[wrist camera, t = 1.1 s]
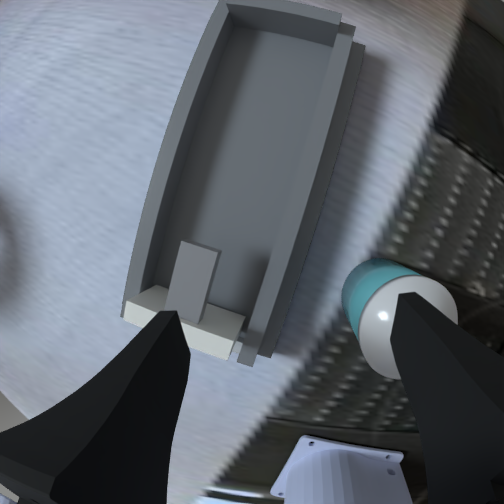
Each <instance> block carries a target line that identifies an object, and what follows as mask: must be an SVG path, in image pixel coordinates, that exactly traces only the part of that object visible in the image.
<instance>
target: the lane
mask: <svg viewBox="0 0 504 504" xmlns="http://www.w3.org/2000/svg"><path fill="white" fill-rule="evenodd" d="M341 17H342V14H341V13H338V12H334V11H331V10H327V9H323V8H319V7H315V6H310V5H306V4H301V3H296V2H291V1H286V0H219V2H218V4H217V6H216V8H215V10H214V12H213V13H212V15H211V17H210V20H209V22H208V24H207V26H206V28H205V31H204V33H203V35H202V38H201V40H200V42H199V45H198V47H197V49H196V52H195V54H194V57H193V59H192V61H191V64H190V66H189V69H188V71H187V74H186V77H185V79H184V82H183V84H182V87H181V90H180V92H179V95H178V98H177V101H176V103H175V106H174V109H173V112H172V115H171V118H170V121H169V123H168V126H167V129H166V132H165V135H164V139H163V142H162V145H161V148H160V151H159V154H158V158H157V161H156V164H155V168H154V171H153V174H152V178H151V181H150V185H149V188H148V192H147V196H146V199H145V203H144V207H143V211H142V215H141V219H140V223H139V227H138V231H137V235H136V239H135V243H134V248H133V252H132V257H131V261H130V266H129V271H128V276H127V281H126V286H125V291H124V297H123V302H122V304H123V305H122V310H121V316H120V317H122V318H123V317H124V312H125V306H126V301H127V300H128V299H130V298H132V297H134V296H136V295H138V294H140V293H142V292H144V291H145V290H147V289H149V288H151V287H153V286H155V285H159V286H161V287H164V288H167V289H169V287H170V283H171V279H172V275H173V271H174V267H175V263H176V259H177V255H178V251H179V247H180V244H181V241H182V240H186V239H188V240H191V241H195V242H198V243H201V244H204V245H207V246H210V247H213V248H216V249H219V250H222V253H221V256H220V260H219V263H218V267H217V270H216V273H215V277H214V281H213V284H212V288H211V291H210V295H209V298H208V302H207V303H208V304H211V305H214V306H217V307H220V308H222V309H225V310H228V311H231V312H234V313H237V314H240V315H243V316H246V317H245V320H244V323H243V327H242V330H241V333H240V335H239V337H238V339H237V341H236V344H235V346H234V348H233V350H232V352H235V353H238V354H239V356H238V359H237V362H238V363H241V364H244V365H247V366H250V367H253V364H254V361H255V358H256V356H257V354H258V355H261V356H264V357H268V358H271V356H272V353H273V351H274V348H275V345H276V343H277V340H278V337H279V334H280V332H281V329H282V326H283V323H284V320H285V318H286V315H287V312H288V309H289V306H290V303H291V301H292V298H293V295H294V292H295V289H296V286H297V283H298V280H299V277H300V274H301V271H302V268H303V265H304V262H305V259H306V256H307V253H308V250H309V247H310V244H311V241H312V237H313V234H314V231H315V228H316V225H317V222H318V218H319V215H320V212H321V209H322V206H323V202H324V199H325V196H326V192H327V189H328V186H329V182H330V179H331V175H332V172H333V169H334V165H335V162H336V158H337V155H338V151H339V148H340V144H341V140H342V137H343V133H344V129H345V126H346V122H347V118H348V115H349V111H350V107H351V103H352V99H353V95H354V91H355V87H356V84H357V79H358V75H359V71H360V67H361V63H362V59H363V55H364V50H365V45H362V44H359V43H356V42H353V41H352V40H353V36H354V32H355V28H356V26H352V25H349V24H346V23H342V22H340V21H341Z"/></svg>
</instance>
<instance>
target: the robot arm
mask: <svg viewBox="0 0 504 504" xmlns="http://www.w3.org/2000/svg"><path fill="white" fill-rule="evenodd" d="M390 343H391V347H392V352H393V356H394V359H395V363H396V367H397V369H398V372H399V375H400V377H401V380H402V383H403V385H404V388H405V391H406V393H407V396H408V399H409V401H410V404H411V407H412V410H413V412H414V415H415V418H416V422H417V425H418V429H419V434H420V438H421V444H422V449H423V455H424V461H425V468H426V477H427V488H428V504H504V357H503V356H501V355H499V354H498V353H496V352H494V351H493V350H491V349H490V348H488V347H487V346H485V345H484V344H482V343H481V342H480V341H478V340H477V339H475V338H474V337H473V336H471V335H470V334H469V333H467V332H466V331H465V330H463V329H462V328H461V327H459V326H458V325H457V324H456V323H454V322H453V321H452V320H451V319H449V318H448V317H447V316H446V315H444V314H443V313H442V312H441V311H439V310H438V309H437V308H436V307H435V306H433V305H432V304H431V303H430V302H428V301H427V300H426V299H424V298H423V297H422V296H421V295H419V294H418V293H416V292H408V293H399V294H398V300H397V305H396V311H395V316H394V321H393V326H392V331H391V336H390ZM190 357H191V353H190V350H189V347H188V344H187V341H186V338H185V335H184V332H183V328H182V325H181V322H180V319H179V315H178V312H177V310H171V311H159V312H158V313H157V314H156V315H155V316H154V317H153V318H152V319H151V320H150V321H149V322H148V323H147V325H146V326H145V327H144V328H143V329H142V330H141V331H140V332H139V333H138V334H137V335H136V336H135V337H134V338H133V339H132V340H131V342H130V343H129V344H128V345H127V346H126V347H125V348H124V349H123V350H122V351H121V352H120V353H119V354H118V355H117V356H116V357H115V358H114V359H113V360H111V361H110V362H109V363H108V364H107V365H106V366H105V367H104V368H103V369H102V370H101V371H100V372H99V373H98V374H97V375H95V376H94V377H93V378H92V379H91V380H89V381H88V382H87V383H86V384H84V385H83V386H82V387H81V388H79V389H78V390H77V391H75V392H74V393H73V394H71V395H70V396H68V397H67V398H65V399H64V400H62V401H61V402H59V403H58V404H56V405H55V406H53V407H52V408H50V409H48V410H47V411H45V412H43V413H41V414H40V415H38V416H36V417H34V418H32V419H30V420H28V421H26V422H24V423H22V424H20V425H17V426H15V427H13V428H10V429H8V430H6V431H3V432H1V433H0V483H1V484H2V485H3V486H5V487H6V488H7V489H9V490H10V491H11V492H13V493H14V494H16V495H17V496H19V500H18V503H16V502H14V501H13V500H11V499H9V498H8V497H6V496H4V495H2V494H1V493H0V504H166V503H167V484H168V472H169V463H170V454H171V446H172V441H173V436H174V432H175V428H176V424H177V420H178V416H179V412H180V408H181V404H182V401H183V397H184V393H185V389H186V385H187V381H188V374H189V366H190ZM309 442H314V443H309ZM388 455H389V456H388ZM403 457H404V455H403V453H402V452H398V451H390V450H383V449H376V448H370V447H363V446H357V445H352V444H346V443H341V442H336V441H331V440H326V439H322V438H317V437H313V436H308V435H305V436H302V437H301V438H300V439H299V441H298V443H297V445H296V447H295V448H294V450H293V452H292V454H291V456H290V458H289V459H288V461H287V463H286V465H285V466H284V468H283V470H282V472H281V473H280V475H279V477H278V478H277V480H276V482H275V483H274V485H273V487H272V488H271V492H270V493H271V494H272V495H274V496H278V497H283V498H285V501H284V504H413V502H412V499H411V496H410V493H409V490H408V487H407V484H406V481H405V478H404V476H403V473H402V470H401V467H400V464H399V463H400V462H401V460H402V459H403Z"/></svg>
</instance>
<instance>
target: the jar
mask: <svg viewBox="0 0 504 504" xmlns="http://www.w3.org/2000/svg"><path fill="white" fill-rule="evenodd" d="M408 292H416V293H418V294H419V295H421V296H422V297H423V298H424V299H426V300H427V301H428V302H430V303H431V304H432V305H433V306H435V307H436V308H437V309H438V310H439V311H441V312H442V313H443V314H444V315H446V316H447V317H448V318H449V319H451V320H452V321H453V322H454V323H456V324H457V325H458V314H457V308H456V304H455V302H454V299H453V298H452V296H451V294H450V293H449V292H448V290H447V289H446V288H445V287H444V286H442V285H441V284H439V283H438V282H436V281H434V280H432V279H430V278H428V277H425V276H422V275H420V274H418V273H416V272H414V271H412V270H410V269H408V268H406V267H404V266H402V265H400V264H398V263H396V262H394V261H392V260H389V259H384V258H375V259H370V260H367V261H365V262H363V263H361V264H359V265H358V266H357V267H355V268H354V269H353V270H352V271H351V273H350V274H349V275H348V277H347V279H346V280H345V283H344V285H343V289H342V295H341V300H342V307H343V310H344V312H345V315H346V317H347V319H348V321H349V323H350V325H351V327H352V329H353V331H354V333H355V335H356V337H357V339H358V342H359V345H360V348H361V350H362V352H363V355H364V357H365V359H366V360H367V362H368V364H369V365H370V366H371V367H372V368H373V369H374V370H375V371H376V372H378V373H379V374H381V375H383V376H385V377H389V378H393V379H401V377H400V375H399V372H398V369H397V367H396V363H395V359H394V356H393V352H392V347H391V343H390V336H391V331H392V326H393V321H394V316H395V311H396V305H397V300H398V294H399V293H408Z"/></svg>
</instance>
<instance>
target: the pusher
mask: <svg viewBox="0 0 504 504" xmlns="http://www.w3.org/2000/svg"><path fill="white" fill-rule="evenodd" d="M221 253H222V250H219V249H216V248H213V247H210V246H207V245H204V244H201V243H198V242H195V241H191V240H188V239H186V240H182V241H181V244H180V247H179V251H178V255H177V259H176V263H175V267H174V271H173V275H172V279H171V283H170V287H169V289H167V288H164V287H161V286H159V285H155V286H153V287H151V288H149V289H147V290H145V291H144V292H142V293H140V294H138V295H136V296H134V297H132V298H130V299H128V300H127V301H126V306H125V312H124V317H123V320H125V321H127V322H129V323H132V324H134V325H136V326H139V327H141V328H144V327H145V326H146V325H147V323H148V322H149V321H150V320H151V319H152V318H153V317H154V316H155V315H156V314H157V313H158V312H159V311H171V310H177V312H178V315H179V319H180V322H181V325H182V328H183V332H184V335H185V338H186V341H187V344H188V347H191V348H193V349H196V350H199V351H201V352H204V353H207V354H210V355H212V356H215V357H218V358H221V359H224V360H227V361H228V358H229V356H230V354H231V352H232V350H233V348H234V346H235V344H236V341H237V339H238V337H239V335H240V333H241V330H242V327H243V323H244V320H245V317H246V316H243V315H240V314H237V313H234V312H231V311H228V310H225V309H222V308H220V307H217V306H214V305H211V304H208V303H207V302H208V298H209V295H210V291H211V288H212V284H213V281H214V277H215V273H216V270H217V267H218V263H219V260H220V256H221Z"/></svg>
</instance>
